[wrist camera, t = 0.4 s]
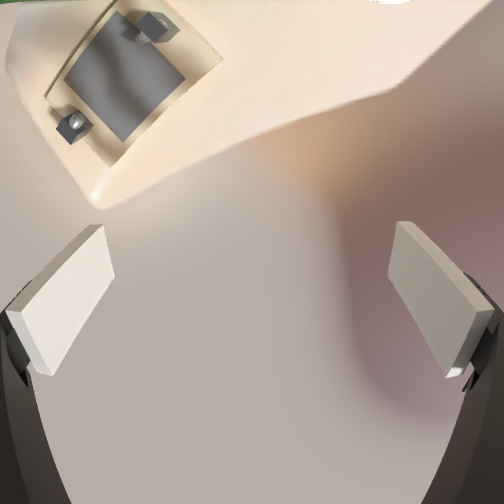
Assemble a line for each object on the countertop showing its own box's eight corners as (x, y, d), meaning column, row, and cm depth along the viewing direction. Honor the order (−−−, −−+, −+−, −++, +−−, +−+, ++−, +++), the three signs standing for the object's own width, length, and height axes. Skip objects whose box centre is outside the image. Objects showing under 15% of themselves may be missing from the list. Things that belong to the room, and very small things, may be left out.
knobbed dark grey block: (83, 103, 34) (66, 111, 31) (98, 119, 35) (82, 128, 32) (72, 119, 36) (55, 129, 33) (86, 134, 37) (70, 145, 34)
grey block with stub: (162, 12, 27) (148, 11, 24) (180, 30, 28) (167, 30, 25) (143, 32, 28) (128, 32, 25) (160, 49, 29) (146, 51, 26)
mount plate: (142, -20, 25) (137, -22, 24) (223, 59, 31) (221, 59, 30) (50, 96, 34) (44, 99, 33) (114, 164, 41) (109, 168, 40)
